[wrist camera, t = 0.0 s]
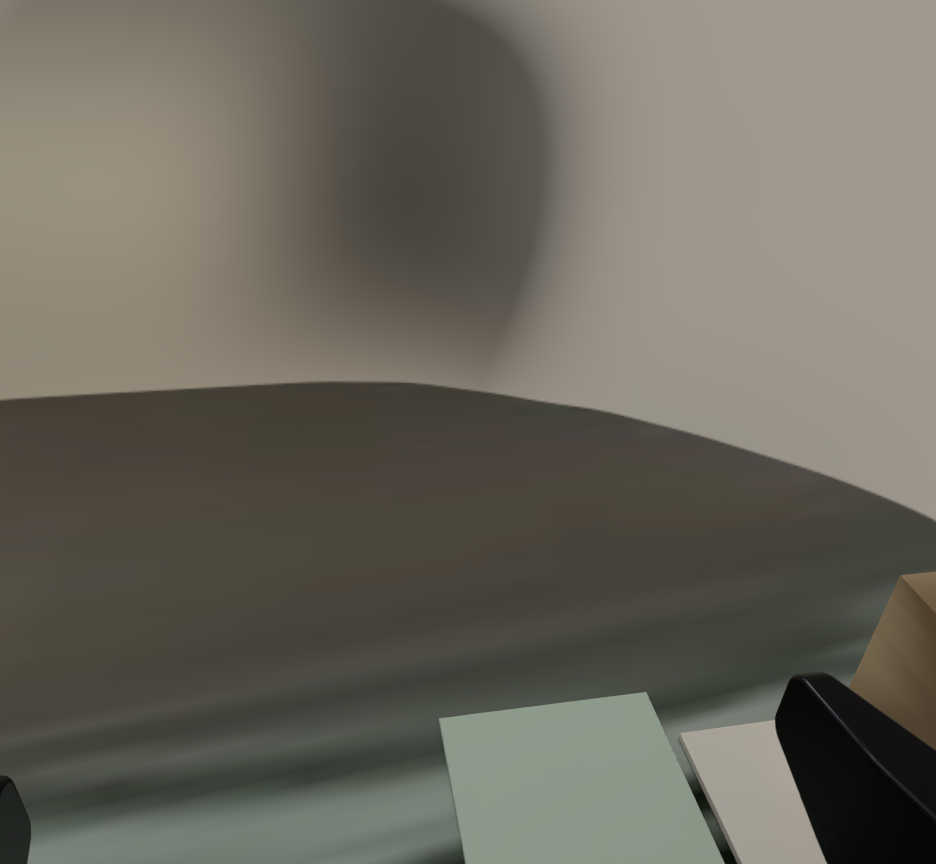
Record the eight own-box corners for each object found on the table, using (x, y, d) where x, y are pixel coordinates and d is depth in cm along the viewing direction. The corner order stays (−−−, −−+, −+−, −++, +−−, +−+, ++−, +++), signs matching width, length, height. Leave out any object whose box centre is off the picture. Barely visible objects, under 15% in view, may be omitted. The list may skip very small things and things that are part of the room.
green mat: (743, 911, 24) (744, 908, 24) (482, 959, 22) (483, 956, 22) (645, 695, 30) (646, 692, 30) (438, 722, 29) (439, 718, 29)
